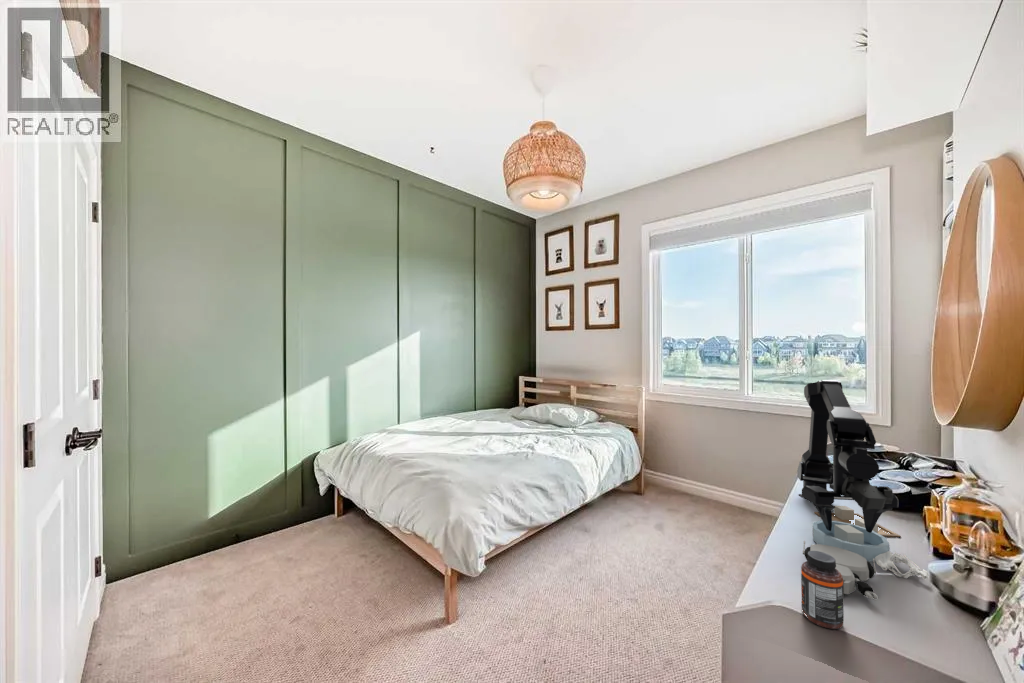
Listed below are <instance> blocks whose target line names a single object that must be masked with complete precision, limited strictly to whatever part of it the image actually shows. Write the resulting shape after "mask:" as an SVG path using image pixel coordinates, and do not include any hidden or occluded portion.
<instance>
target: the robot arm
mask: <svg viewBox="0 0 1024 683" xmlns="http://www.w3.org/2000/svg"><path fill="white" fill-rule="evenodd" d="M843 391H844V390H843V384H842V382H841V381H840V380H839V381H838V380H837V379H836V380H835V379H834V380H833V379H821V380H818V381H815V382H810V383H806V385H805V386H804V388H803V396H804V398H805V400H806V402H807V404H808V406H809V407H810V409H811V412H810V414H811V415H810V428H809V442H808V449H807V450H806V451H805V452H804V453H803V454H802V455H801V461H799V464H798V466H797V470H796V471H797V472H796V474H797V479H799V481H800V482H802V483H803V487H802V488H801V493H799V494H798V496H799V497H801V498H803V499H804V500H806V501H808V502H809V501H810V502H809V503H812V504H813V506H814V507H815V509H816V512H818V513H819V515H820V516H819V517H820V518H821V520H822V521H823V523H824V525H825V527H826V529H827V530H829V531H831V529H832V512H833V511H834V508H835V506H836V505H833V504H834V502H835V500H836V501H837V500H841V501H855V502H856V504H857V505H858V506H859V507H860V508H861V509H862V516H863V517H864V524H865V528H866V531H867V532H869V533H871V532H872V530H873V528H874V526H875V524H876V523H877V522H878V521H879V519H880V517H881V516H882V514H883V513H886V512H888V511H893V508H899V498H898V497H897V496H896V494H895V493H894V491H893V489H891V487H889V486H886V485H885V486H884V485H883V486H882V485H880V486H877V485H872V484H871V483H870V479H873V478H874V477H876V476H877V475H878V474H879V472H880V465H879V463H878V461H877V460H876V459H875V457H872V456H871V455H870V454H868V450H876V446H875V445H876V443H877V441H876V438H875V434H874V432H873V429H872V427H871V426H870V423H869V422H867V421H866V419H865V418H864V416H863V415H862V414H861V413H860V412H858V411H855V410H853V409H852V407H851V405H850V403H849V401H848V399H847V397H846V395H845V392H843ZM828 439H829V440H830V443H831V445H833V446H832V462H831V460H830V458H829V457H828V455H827V454H828V453H827V451H828V450H827V448H828V441H829V440H828ZM832 463H833V464H832ZM828 485H829V489H831V490H828V488H827V487H828Z"/></svg>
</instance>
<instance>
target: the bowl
mask: <svg viewBox="0 0 1024 683" xmlns="http://www.w3.org/2000/svg"><path fill="white" fill-rule="evenodd" d="M811 524H812V525H811V526H812V531H811V533H812V540H813V541H814V542H815V544H821V545H828V546H833V547H838V548H841V549H845V550H848V551H851V552H854V553H856V554H859V555H861V556H862V557H864V558H866V560H867V561H868V562H873V558H874V559H875V557H876V556H878V555H879V554H882V553H885V552H888V551H890V550H891V549H890V548H891V547H890V543H889V540H888V539H887V537H883V536H882V535H880V534H878V533H876V532H874V531H872V532H871V533H869V532H867V531H866V528H863V527H860V526H857V525H854V524H849V523H844V522H839V521H832V529H831V531H829V530H827V529H826V527H825V525H824V523H823V521H822V519H821V520H817V521H814V522H812V523H811ZM834 525H850V526H852V527H854V528H855V529H857V530H859V531H861V532H862V533H864V545H860V544H856V543H851V542H847V541H843V540H840V539H837V538H835V534H834ZM890 552H891V551H890ZM875 563H876V561H875Z"/></svg>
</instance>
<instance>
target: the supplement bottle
mask: <svg viewBox="0 0 1024 683" xmlns="http://www.w3.org/2000/svg"><path fill="white" fill-rule="evenodd" d="M800 568H801V569H800V577H801V580H800V582H801V585H800V586H801V589H800V590H801V611H802V610H803V612H804V613H805V614H806V615H807V617H808V621H810V622H811V623H813V624H815V625H817V626H819V627H822V628H826V629H830V630H838V628H839V629H841V628H842V627H843V626H844V617H845V616H844V612H845V611H844V592H843V577H842V575H841V573H840V572H839V571H838V570H837V569H836V560H835V558H834V557H832V556H831V555H829V554H827V553H824V552H820V551H809V552H808V556H807V559H806V561H804V562H802V563H801V566H800ZM803 612H802V613H803Z"/></svg>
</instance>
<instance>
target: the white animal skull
mask: <svg viewBox="0 0 1024 683" xmlns="http://www.w3.org/2000/svg"><path fill="white" fill-rule="evenodd" d="M875 561H876V562H875V564H877V565H878V566H879V567H880V568H881V569H882V570H883V571H887V570H888V571H890V572H892V573H894V574H895V575H896V576H897V577H899V578H904V579H908V578H909V577H911V576H912V577H913V576H917V577H919V576H921V578H922V579H923V580H927V579H928V576H929V572H928V571H927V570H925V569H924V568H923V569H921V567H920V566H918V565H917V564H916V563H915V562H914V561H912V560H911V559H909V558H908V557H907V555H906V554H903V555H902V554H899V553H897V552H896V551H894V553H893V552H891V551H888V552H885V553H882V554H879V555H878V556H876V557H875ZM901 563H902V564H905V565H906V566H908V568H909V570H908V571H907V572H904V573H902V572H901V571H900V570H899V569H898V567H897V566H896V565H895V564H899V565H900V564H901Z"/></svg>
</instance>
